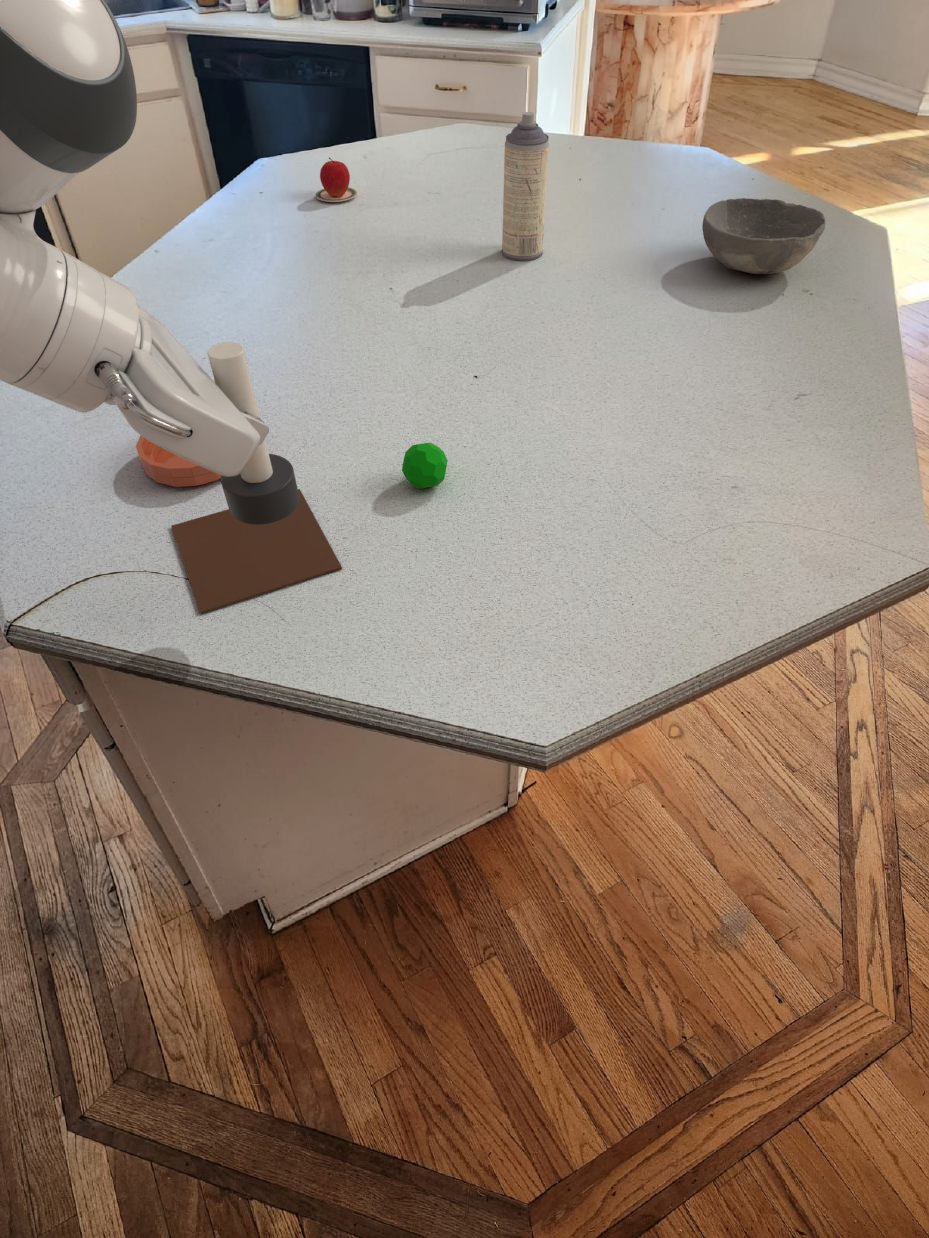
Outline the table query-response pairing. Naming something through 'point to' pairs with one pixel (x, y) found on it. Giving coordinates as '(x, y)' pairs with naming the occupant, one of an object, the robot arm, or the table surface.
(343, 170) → the apple
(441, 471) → the polyhedron
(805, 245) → the bowl
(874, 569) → the table surface
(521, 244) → the aerosol can
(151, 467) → the dish
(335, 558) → the board
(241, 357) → the brush
